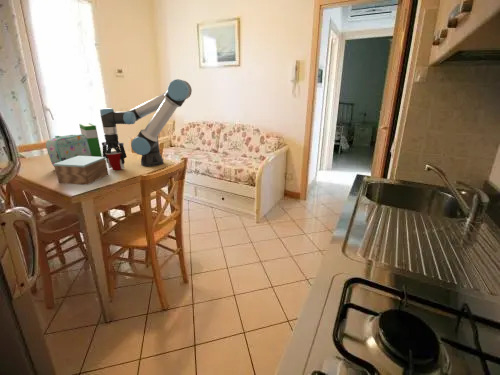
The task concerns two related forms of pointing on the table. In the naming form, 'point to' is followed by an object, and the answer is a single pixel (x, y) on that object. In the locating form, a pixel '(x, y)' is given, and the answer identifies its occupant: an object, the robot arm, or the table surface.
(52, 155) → the lunch box
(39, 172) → the table surface
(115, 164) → the plastic cup
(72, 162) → the pale teal square panel
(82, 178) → the wooden box
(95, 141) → the hardback book
